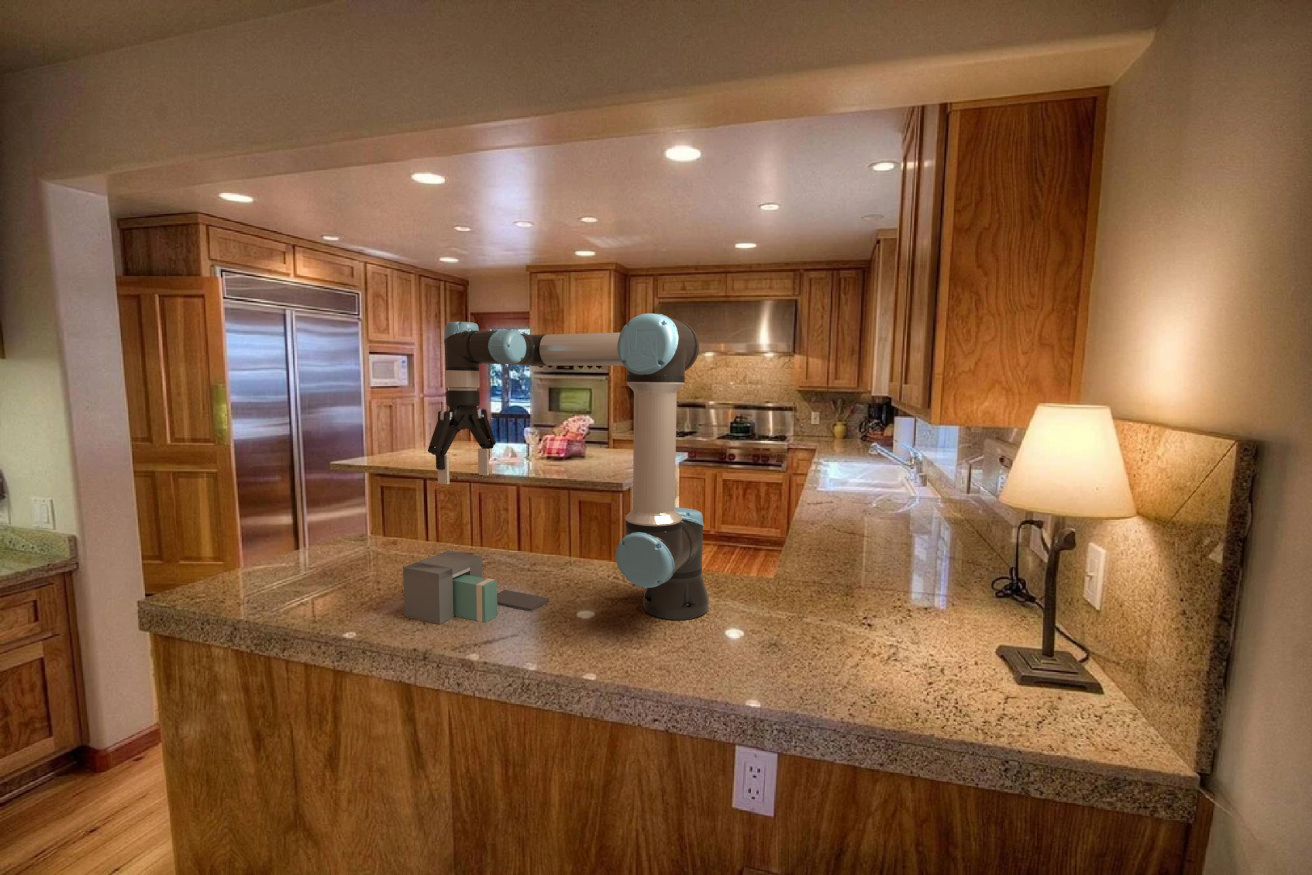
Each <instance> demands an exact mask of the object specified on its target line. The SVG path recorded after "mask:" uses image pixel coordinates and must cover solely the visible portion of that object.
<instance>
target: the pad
mask: <svg viewBox="0 0 1312 875" xmlns="http://www.w3.org/2000/svg"><path fill="white" fill-rule="evenodd" d="M549 601H550V597H545V596H540V595H534V594H529V593H525V592H520V591H519V592H518V591H515V590H508V589H503V590H501V591H499V592H497V606H498V605H499V606H503V607H508V608H513V609H518V610H523V611H528V612H533V611H535V610H536V609H538V608H540V607H541V606H543V605H545V604H546V603H548V602H549Z"/></svg>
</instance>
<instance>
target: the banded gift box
mask: <svg viewBox="0 0 1312 875" xmlns="http://www.w3.org/2000/svg"><path fill="white" fill-rule="evenodd" d="M497 593H498V580H496V579H493V578H490V577H489V578H486V577H482V578H481V577H476V576H470V575H465V574H461V575H459V576H456V577H454V578H453V616H454V617H459V618H462V619H468V620H472V621H476V622H480V623H487V622H489V621H491V620H492V619H494V618H496V617H497V616H498V604H497Z"/></svg>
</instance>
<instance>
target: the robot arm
mask: <svg viewBox="0 0 1312 875" xmlns="http://www.w3.org/2000/svg"><path fill="white" fill-rule="evenodd" d="M443 343H444V355H445V356H444V357H445V358H444V359H445V360H444V364H445V387H446V388H447V389H448V390H446V391H445V404H446V406H447V407H449V408H448V410H439V411H438V412H437V421H436V424H435V428H434V430H433V433H432V436H431V439H430V443H429V446H428V448H427V453H429V454H431V455H433V456H435V469H436V470H437V484H440V485H450V455H449V454H447V453H448V451H449V449H450V447H451V445H452V443H454V442H453V441H454V440H455V438H456V436H457V435H458V433H459V432H461V431H462V430H466V429H467V430H469V431H470V433H471V435H472V436H473V438H474V439H475V441H476V443H477V444H478V445H479V447H480V448H477V463H478V464H477V468H478V469H477V470H478V472H477V474H478V475H479V476H489V475H490V459H491V454H490V452H491V449H493V448H494V446H495V445H496V443H497V442H496V439H495V435H494V433H493V430H492V427H491V424H490V422H489V420H488V414H487V409H485V408H477V407H479V406H480V405H481V401H480V400H481V399H480V398H481V396H480V394H481V393H480V391H479V390H478V389H479V388H480V387H481V386H480V385H481V381H480V380H481V379H480V365H482V364H483V365H488V364H489V365H511V366H512V365H513V366H514V365H515V366H529V367H530V366H531V367H543V366H592V367H593V366H595V367H596V366H603V367H605V366H607V367H611V366H612V367H615V366H618V367H622V366H623V367H624V368H626V384H627V385H628V387H629V388H630V389H631V390H632V391H633V453H632V454H633V456H632V457H633V459H632V460H633V463H632V465H633V468H632V470H633V471H632V509H631V510H630V512H628V513H627V515H625V521H624V522H625V524H624V525H625V527H624V528H625V530H624V533H625V534H624V535H625V536H623V538H622V539H621V540H619V542H618V545H617V547H616V552H615V561H616V563H617V567H618V569H619V571H620V573H621V575H622V576H624V577H625V578H626V580H627V581H628V582H630V583H631V584H633V585H635V586H637V587H640V588H645V591H644V594H643V601H642V602H643V603H642V605H643V606H642V607H643V609H644V610H645V612H647V613H648V614H649V615H651V616H653V617H657V618H660V619H665V620H673V621H674V620H675V621H677V620H679V621H680V620H681V621H684V620H691V619H696V618H699V617H701V616H703V615H705V614H707V613H708V611H709V610H710V598H709V594H708V591H707V588H706V584H705V581H704V578H703V550H704V549H703V547H704V546H703V539H704V538H703V537H704V535H703V534H704V527H705V525H704V517H703V513H702V512H701V511H699V510H697V509H693V508H686V507H675V506H676V462H677V461H676V460H677V459H676V457H677V455H676V454H677V453H676V452H677V401H678V400H677V396H678V391H680V390H681V389H682V387H684V385H685V381H686V380H685V379H686V377H685V376H686V371H688V370H689V369H691V368H692V366H693V365H694V364H695V362H696V361H697V359H698V357H699V353H700V341H699V338H698V335H697V333H696V332H695V330H694V328H693V327H691V326H690V324H688V323H686V322H685V321H682V320H679V319H674V318H671V317H668V316H667V315H664V314H661V313H642V314H639V315H636V316H635V317H633V318H631V319H630V320H629V321H628V322H627V323H626V324H625V325H624V326H623V327H622V329H621V331H620V332H596V333H595V332H594V333H593V332H591V333H586V332H585V333H556V334H555V333H553V334H552V333H551V334H545V333H544V334H528V333H520V331H517V330H515V329H513V330H512V329H505V328H504V329H498V330H479V325H478V324H477V323H475V322H469V321H449V322H447V323H446V324H445V326H444V339H443Z"/></svg>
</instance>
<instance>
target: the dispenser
mask: <svg viewBox="0 0 1312 875" xmlns="http://www.w3.org/2000/svg"><path fill="white" fill-rule="evenodd" d="M466 553H467V552H459V551H453V550H446V551H443V552H441V553H438V554H435V555H432V556H429V557H427V558H425V559H421V560H419V561H416V562H414V563H411V564H409V565H405V566H403V567H402V574H403V575H402V576H403V577H402V578H403V580H402V581H403V605H404V606H403V607H404V608H403V609H404V613H403V614H404V617H405V618H411V619H416V620H420V621H424V622H427V623H432V624H436V625H441V624H443V623H446V622H447V621H450V620H451V619H453V618H454V617H455V616H453V578H454V577H456V576H459V575H461V574H465V575H470V576H476V577H481V578H483V556H482V555H477V554H474V555H472V554H473V553H470V554H466Z"/></svg>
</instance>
